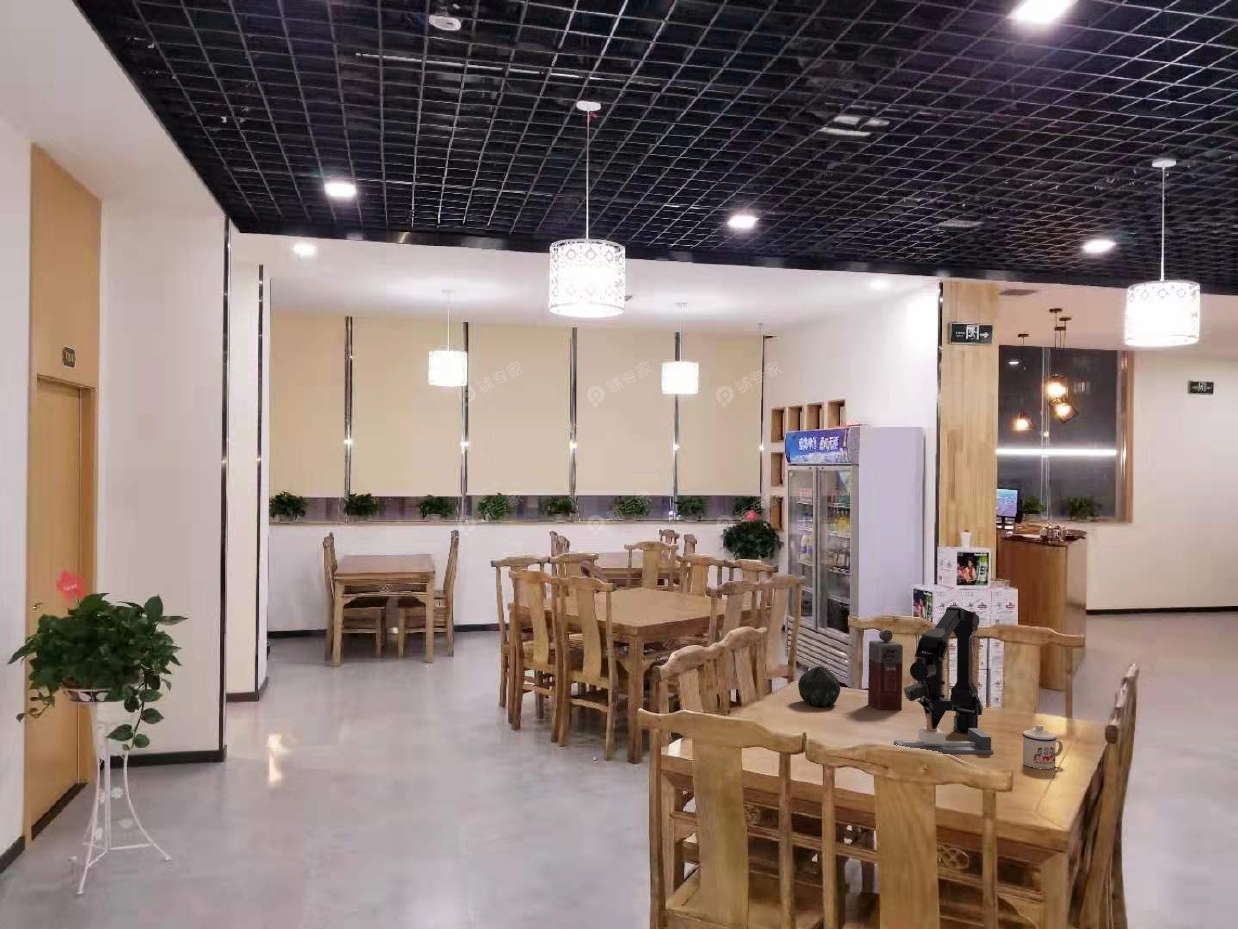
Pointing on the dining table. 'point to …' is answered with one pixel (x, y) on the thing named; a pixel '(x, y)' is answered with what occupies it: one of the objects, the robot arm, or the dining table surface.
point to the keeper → (931, 733)
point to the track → (956, 744)
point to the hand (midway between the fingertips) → (931, 727)
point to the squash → (819, 687)
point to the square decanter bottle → (885, 673)
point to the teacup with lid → (1040, 748)
